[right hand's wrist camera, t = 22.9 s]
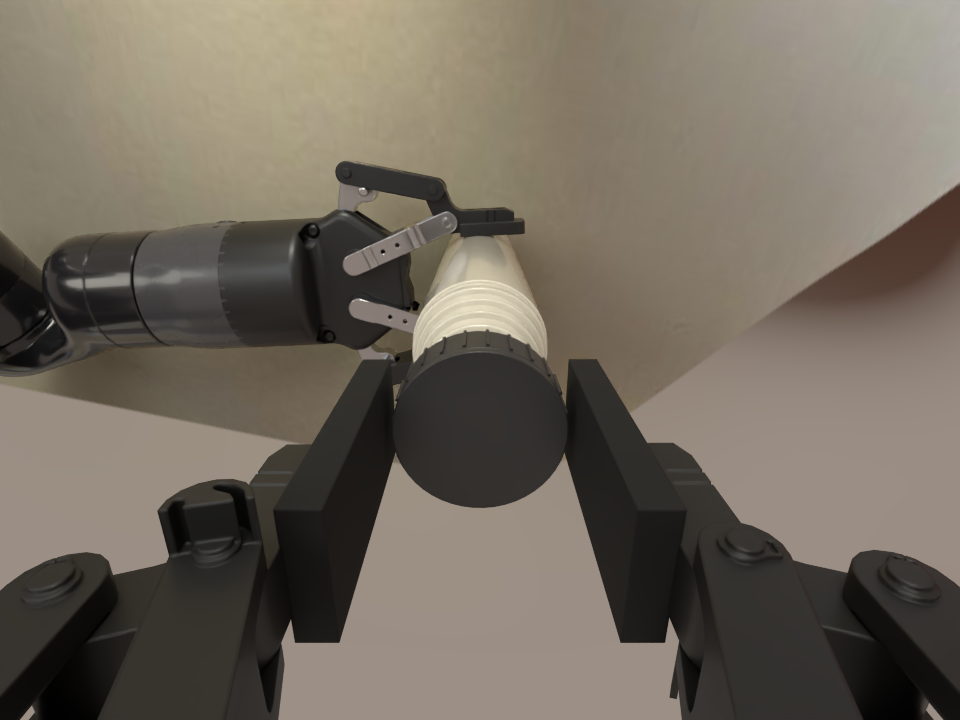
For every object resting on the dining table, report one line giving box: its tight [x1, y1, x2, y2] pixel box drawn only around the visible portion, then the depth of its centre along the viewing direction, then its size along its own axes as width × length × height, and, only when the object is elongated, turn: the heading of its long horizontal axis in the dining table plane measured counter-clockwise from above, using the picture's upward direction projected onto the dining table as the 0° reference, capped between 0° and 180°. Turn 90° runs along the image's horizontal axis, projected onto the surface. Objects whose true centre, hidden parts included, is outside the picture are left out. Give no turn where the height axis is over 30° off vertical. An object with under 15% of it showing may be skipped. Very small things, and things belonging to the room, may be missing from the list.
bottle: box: [412, 233, 548, 363], centre depth 26 cm, size 5×5×26 cm
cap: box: [392, 329, 568, 508], centre depth 14 cm, size 4×4×2 cm
